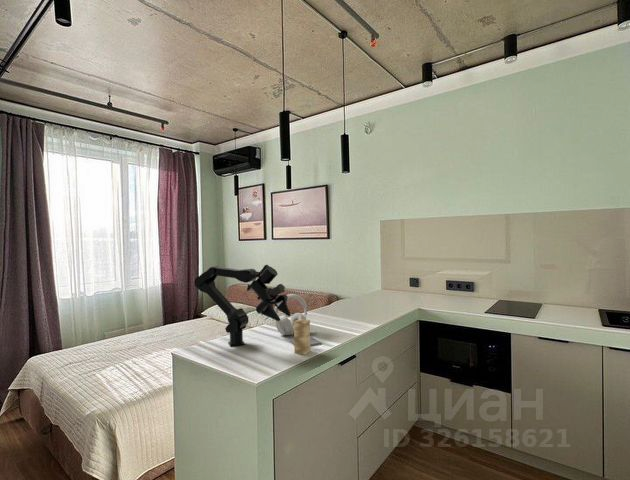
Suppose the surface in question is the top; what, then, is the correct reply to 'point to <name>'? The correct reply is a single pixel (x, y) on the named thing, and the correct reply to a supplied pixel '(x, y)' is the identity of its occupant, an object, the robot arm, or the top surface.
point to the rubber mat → (312, 341)
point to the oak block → (301, 336)
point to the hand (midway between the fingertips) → (284, 317)
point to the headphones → (288, 325)
